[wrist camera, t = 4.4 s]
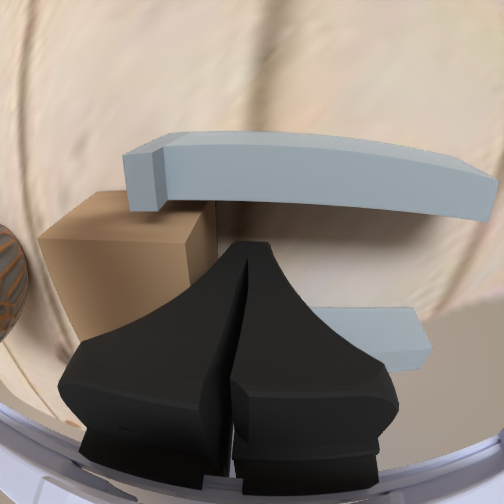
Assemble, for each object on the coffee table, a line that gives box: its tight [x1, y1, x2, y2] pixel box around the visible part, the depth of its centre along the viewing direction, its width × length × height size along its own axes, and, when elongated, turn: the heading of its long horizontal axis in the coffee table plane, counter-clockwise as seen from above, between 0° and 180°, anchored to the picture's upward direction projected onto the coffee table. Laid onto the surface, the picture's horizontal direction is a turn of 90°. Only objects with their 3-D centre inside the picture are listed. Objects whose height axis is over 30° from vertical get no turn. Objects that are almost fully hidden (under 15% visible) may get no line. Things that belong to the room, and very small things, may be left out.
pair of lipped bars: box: [122, 131, 499, 373], centre depth 10 cm, size 11×9×4 cm
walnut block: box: [37, 190, 218, 343], centre depth 10 cm, size 5×5×4 cm
